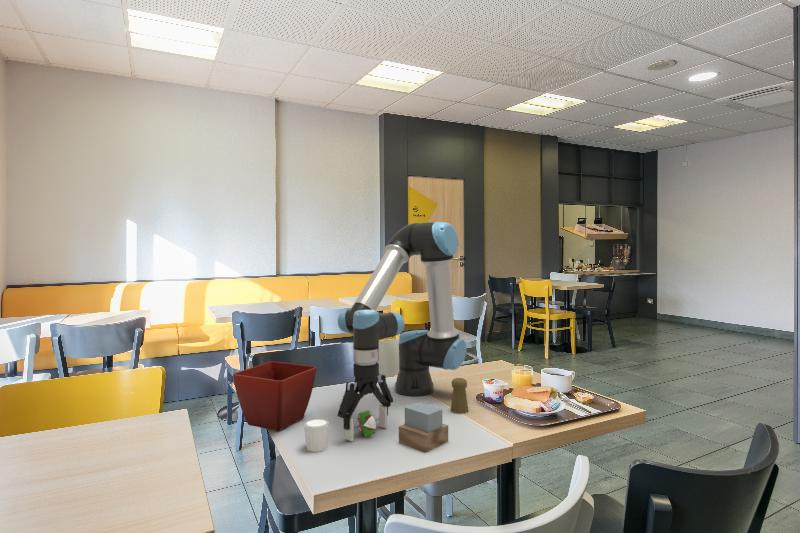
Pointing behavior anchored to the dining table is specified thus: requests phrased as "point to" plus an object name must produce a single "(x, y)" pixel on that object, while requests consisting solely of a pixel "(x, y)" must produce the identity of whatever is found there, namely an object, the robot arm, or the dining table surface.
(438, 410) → the tower top block
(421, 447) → the tower base block
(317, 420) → the white cup
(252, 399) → the plant pot
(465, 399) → the cork
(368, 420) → the geometric puzzle
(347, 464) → the dining table surface
